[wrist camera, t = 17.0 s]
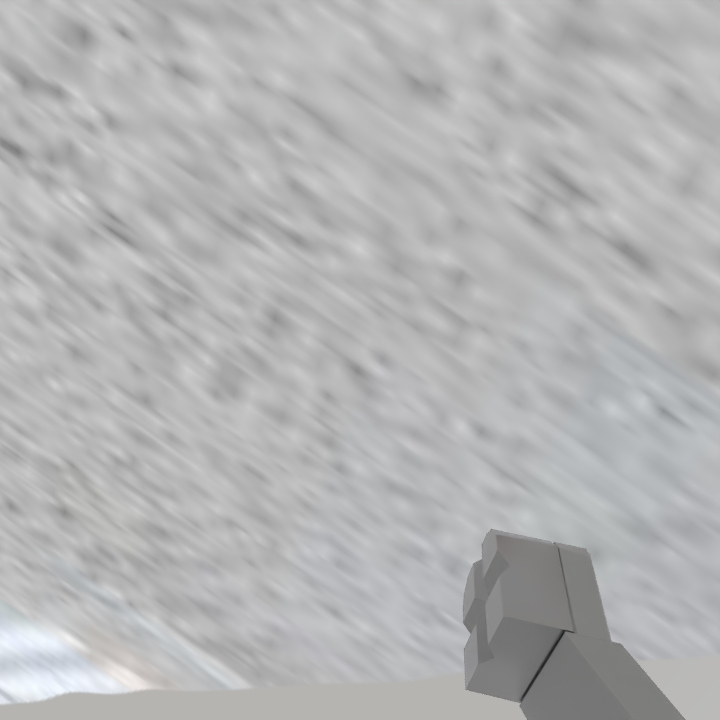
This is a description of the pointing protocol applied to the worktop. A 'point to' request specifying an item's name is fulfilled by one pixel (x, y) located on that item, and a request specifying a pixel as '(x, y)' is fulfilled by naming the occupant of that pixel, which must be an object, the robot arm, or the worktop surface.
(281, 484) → the worktop surface
